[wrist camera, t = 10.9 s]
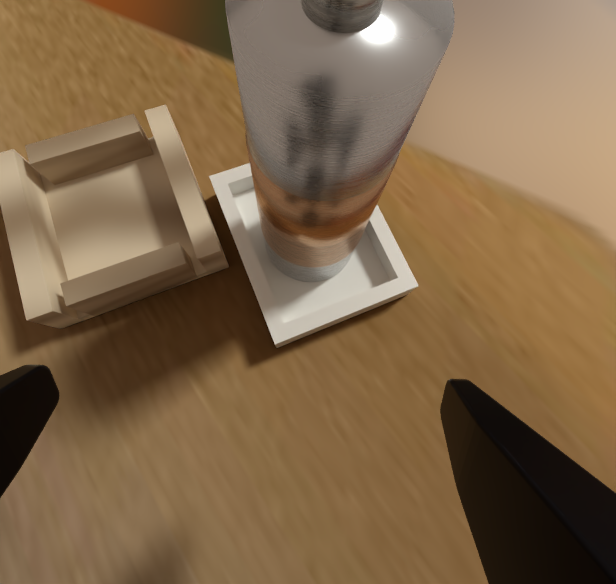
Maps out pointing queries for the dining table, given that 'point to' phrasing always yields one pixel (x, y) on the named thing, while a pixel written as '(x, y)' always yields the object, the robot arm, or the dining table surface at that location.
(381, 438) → the dining table surface
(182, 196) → the tray
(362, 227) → the battery cell
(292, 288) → the tray
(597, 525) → the robot arm
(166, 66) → the dining table surface
